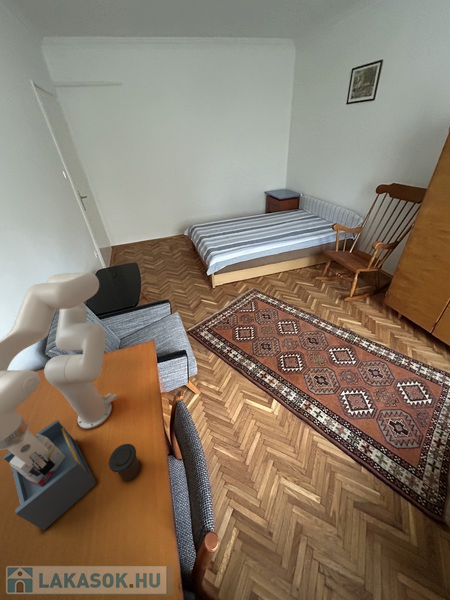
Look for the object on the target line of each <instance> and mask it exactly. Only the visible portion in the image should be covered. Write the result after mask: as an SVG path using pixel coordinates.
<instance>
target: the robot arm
mask: <svg viewBox="0 0 450 600" xmlns="http://www.w3.org/2000/svg"><path fill="white" fill-rule="evenodd" d="M99 288H100V281H99V278H98V277H97V275H95V274H94V273H92V272H89V271H83V272H82V271H80V272H66V273H65V272H64V273H57V274H52V275H50V276H49V277H48V278H47V279H46V282H42V283H35V284H33V285H31V286H29V287H28V288H27V290H26V291H25V293H24V296H23V298H22V301H21V304H20V306H19V309H18V312H17V315H16V316H15V319H14V323H13V325H12V327H11V329H10V330H9V332H8V333H7V334H5V335H4V336H2V338H1V339H0V451H4V450H7V451H8V452H11V453H12V454H14V455H15V456H16V457H17V458H19V459H20V460H21V461H23V462H24V463H25V464H27V465H28V466H30V467H32V466H33V465H34V466H35V467H37V470H38V471H40V472H41V473H42V474H43V475H46V474H47V473H48V472H49V471H50V470H51V469H52V468H53V467H54V466H55V464H54V463H53V462H52V461H51V460H50V459H49V458H46V457H45V456H44V455H46V454H47V453H48V449H47V448H46V447H45V446H44V445H43V444H42V443H41V442H40V441H39V440H38V439H37V438H36V437H35V436H34V435H35V434H33V433H32V432H31V431H30V430H29V428H30V424H29V422H28V421H27V420H26V419H25V418H24V417H23V416H22V415H21V414H20V413H19V412H18V411H17V410H16V409H17V408H18V407H19V406H21V405H22V404H23V403H24V402H25V401H27V399H29V398H30V397H31V396H32V395H33V394H34V393H35V392H36V391H37V389H38V387H39V385H40V382H41V379H40V375H39V374H38V373H37V372H36V371H33V370H29V369H27V370H26V369H19V370H15V369H11V370H9V367H10V365H11V363H12V361H13V360H14V359H15V358H16V357H17V356H18V354H20V353H21V352H23V351H24V350H26V349H27V348H29V347H31V346H33V345H36V344H37V343H39V342H42V341H43V340H44V339H46V338H47V337H48V336H49V333H50V330H51V326H52V323H53V320H54V316H55V314H56V311H59V314H58V321H57V327H56V332H55V346H56V348H57V349H59V350H61V351H82V353H71V354H59V355H55V356H54V357H52V358H50V359H48V361H46V364H45V365H44V368H43V374H44V377H45V379H46V381H47V382H48V383H49V384H50V385H52V386H53V387H54V388H55V389H57V391H59V392H60V393H61V394H62V396H63V397H64V398H65V400H66V401H67V402H68V404H69V405H70V406H71V408H72V409H73V410H74V411H75V413H76V414H77V424H78V426H79V427H80V428H81V429H84V430H90V429H94V428H96V427H98V426H100V425H101V424H103V423H104V422H105V421H106V420H107V419H108V418H109V416H110V414H111V412H112V409H113V406H112V402H114V401H115V400H116V399H118V396H117V394H116V393H114V394H112V393H111V392H109V393H108V394H106V395H104V396H103V395H102V394H101V392H100V391H99V389H98V388H97V387H96V385H95V383H94V382H96V381H97V380H98V379H99V378H100V376H101V374H102V372H103V367H104V366H103V365H104V360H105V359H104V358H105V350H106V349H105V348H106V340H107V339H106V331H105V329H104V327H103V325H102V324H100V323H98V322H87V315H88V309H87V306H86V304H85V302H87V300H89V299H91V298H93V297H94V296H95V295H96V294H97V293H98V291H99ZM41 457H42V458H43V459H45V460H42V459H41ZM36 463H37V464H36Z"/></svg>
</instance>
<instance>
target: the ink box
mask: <svg viewBox="0 0 450 600" xmlns="http://www.w3.org/2000/svg"><path fill="white" fill-rule="evenodd" d="M35 434H36V435H35ZM35 434H34V435H35V437H36V438H37V439H38V440H39V441H40V442H41V443H42V444H43V445H44V446H45V447H46V448H47V449H48V453H47V454H46V455H44V456H45V457H46V458H49V459H50V460H51V461H52V462H53V463H54V464H55V466H54V467H53V468H52V469H51V470H50V471H49V472H48V473H47V474H46V475H43V474H42V473H41V472H40V471H38V470H37V467H35V466H34V465H33V466H32V467H30V466H28V465H27V464H25V463H24V462H23V461H21V460H20V459H19V458H17V457H16V456H14V458H13V459H12V460H11V461H10V463H9V462H8V464H9V466H12V467H13V468H14V469H16V470H17V471H18V472H19V473H21V474H22V475H23V476H24V477H25V478H27V479H28V480H29V481H30V482H32V483H34V484H36V485H38V486H42V487H43V486H44V484H45V483H46V482H47V481H48V479H49V478H50V477H51V475H52V474H53V473H54V471H55V470H56V469H57V468H58V466H59V465H60V464H61V462H62V461H63V460H64V458H65V457H66V456H65V455H64V454H63V453H62V452H61V451H60V450H59V449H58V448H57V447H56V446H55V445H54V444H53V443H52V442H51V441H50V440H49V439H48V438H47V437H46V436H44V435H41V434H38V432H36V433H35ZM41 459H42V460H45V459H43V458H42V457H41ZM36 464H37V463H36ZM12 467H11V468H12Z"/></svg>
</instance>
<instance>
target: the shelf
mask: <svg viewBox="0 0 450 600" xmlns="http://www.w3.org/2000/svg"><path fill="white" fill-rule="evenodd" d="M37 433H38V434H41V435H44V436H46V437H47V438H48V439H49V440H50V441H51V442H52V443H53V444H54V445H55V446H56V447H57V448H58V449H59V450H60V451H61V452H62V453H63V454H64V455H65V456H66V457H65V458H64V460H63V461H62V462H61V464H60V465H59V466H58V468H57V469H56V470H55V471H54V473H53V474H52V475H51V477H50V478H49V479H48V481H47V482H46V483H45V484H44V486H43V487H42V486H38V485H36V484H34V483H32V482H30V481H29V480H28V479H27V478H25V477H24V476H23V475H22V474H21V473H19V472H18V471H17V470H16V469H14V468H13V467H12V466H11V465H10V466H11V471H12V475H13V479H14V483H15V488H16V492H17V497H18V500H19V506H17V507H16V508H15V509H14V513H15V515H17V516H19V517H21V518H22V519H23V520H25V521H27V522H29V523H30V524H32V525H33V526H35V527H37V528H38V529H40V530H42V531H45V530H47V529H48V528H49V527H50V526H51V525H52V524H53V523H54V522H55V521H57V520H58V519H59V518H60V517H61V516H62V515H63V514H65V513H66V512H67V511H68V510H69V509H70V508H72V506H73V505H75V503H77V502H78V501H79V500H80V499H82V498H83V496H85V495H86V494H87V493H88V492H89V491H90V490H91V489H92V488H93V487H95V486H96V485H97V482H96V480H95V478H94V475H93V473H92V471H91V469H90V467H89V465H88V463H87V461H86V459H85V457H84V455H83V453H82V451H81V449H80V447H79V445H78V443H77V441H76V439H75V438H74V437H73V436H72V435H71V433H69V431H68V430H67V429H66V427H65V426H64V425H63V424H62V423H61V422H60V420H59V419H56V420H54V421H53V422H52V423H50V424H49V425H47V426H45V427H44V428H42V429H41V430H40V431H38V432H37ZM37 433H35V434H33V435H34V436H35V435H36V434H37ZM14 456H15V455H14V454H12V453H11V452H10V451H8V452H7V453H6V454H4V455H3V459H4V460H5V461H6V462H7V463H8V464H9V463H10V461H11V460H12V459H13V458H14Z"/></svg>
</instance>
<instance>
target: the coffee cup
mask: <svg viewBox="0 0 450 600" xmlns="http://www.w3.org/2000/svg"><path fill="white" fill-rule="evenodd" d="M140 467H141V466H140V463H139V460H138V456H137V448H136V447H135V446H134V444H132V443H123V444H120V445H119V446H117V447H116V448H115V449H114V450H113V451H112V453H111V455H110V457H109V461H108V468H109V469H110V471H111V472H113V473H116V474H118V475H119V476H121V477H122V478H123V479H124V480H130V481H131V480H132V479H135V478H136V477H137V476H138V474H139V472H140Z"/></svg>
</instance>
